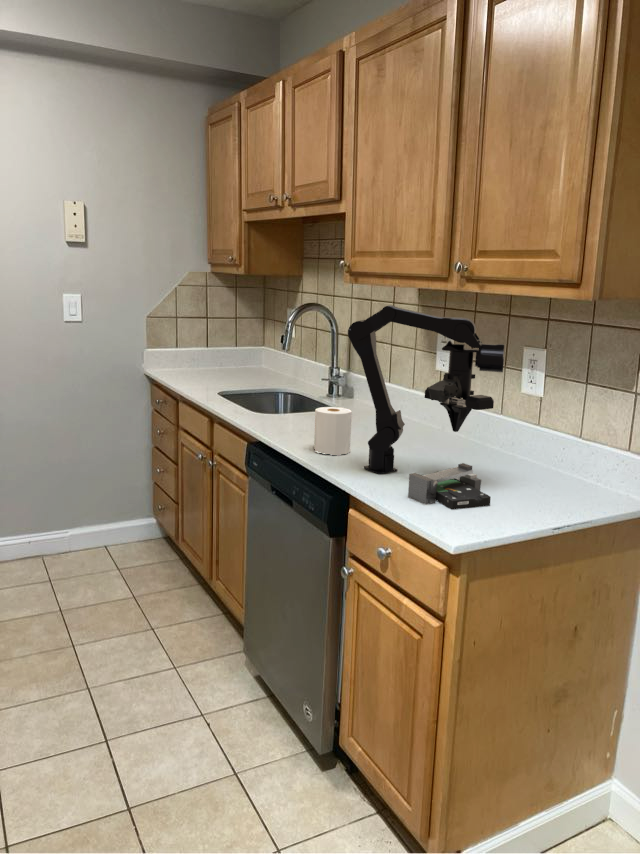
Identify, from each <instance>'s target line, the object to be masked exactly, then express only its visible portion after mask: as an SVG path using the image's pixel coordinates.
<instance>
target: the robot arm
mask: <svg viewBox="0 0 640 854" xmlns="http://www.w3.org/2000/svg"><path fill="white" fill-rule="evenodd" d="M390 323H395V324H400V325H404V326H408V327H412V328H417V329H421V330H426V331H430V332H434V333H436V334H439V335H442V336H443V337H445V338H447V339H450V340H448V341H447V343H446V344H445V345H444V346H443V347H442V348H441V350H442V351H443V352H444V351H447V352H449V359H448V372H444V375H443V378H442V380H439V381H438V382H435V383H434V384H431V385H430V386H427V387H426V389H425V390H424V398H425V399H427V400H431V401H437V402H438V403H439V404H440V406H442V407H443V408H444V409H445V410H446V412H447V414H448V417H449V418H448V419H449V421H450V425H451V430H452V431H453V432H455V433H457V432H458V433H459V431H460V429H461V428H462V426H463V424H464V422H465V420H466V419H467V418H468V416H469V414H470V412H471V411H472V410H475V411H482V410H490V409H491V410H492V409H494V403H495V401H494V399H493V397H492V396H488V395H484V394H475V390H471V389H472V379H473V380H474V379H476V374H475V373H473V365H474V364H475V365H474V367H477V368H479V372H493V373H504V364H505V363H504V362H505V355H504V354H505V344H504V343H495V344H493V343H483V342H482V341H481V338H480V337H479V336H478V334H477V333H476V331H477V327H476V324H475V322H474V321H473V319H471V318H468V317H461V316H460V317H459V316H458V317H454V316H438V315H433V314H428V313H425V312H421V311H420V312H419V311H414V310H410V309H406V308H402V307H398V306H396V305H391V304H389V305H386V306H384V307H382V309H379V311H377V312H375V313H374V314H372V315H371V316H369V317H367V318H366V319H361V320H357V321H354V322H352V323H351V324H350V325H349V328H348V329H347V336H348V338H349V341H350V343H351V345H352V348H353V349H354V351H355V352H356V354H357V355H358V357H359V359H360V361H361V364H362V369H363V371H364V375H365V379H366V382H367V384H368V388H369V392H370V395H371V398H372V399H371V400H372V402H373V406H374V410H375V428H376V433H375V434H373V435H372V437H371V438H370V439H369V440H368V441H367V444H368V448H369V449H368V465H364V466H363V469H365V470H368V471H369V472H372V473H375V474H377V475H381V474H387V473H393V472H398V468H395V467H394V466H395V454H394V453H395V448H394V447H393V445H394V444H395V443H396V442H397V441H398V440H399V439H400V438H401V436H402V434H403V432H404V426H405V422H404V421H403V418H402V411H401V409H400V410H396V411H395V409H394V407H393V406H392V404H391V399H390V397H389V393H388V390H387V386H386V382H385V379H384V375H383V371H382V368H381V365H380V362H379V359H378V358H379V357H378V355H377V336H376V332H378V331H380V330H381V329H383V328H385V326H387V325H389V324H390ZM451 340H453V341H454V342H457V343H453V342H452V341H451ZM458 343H460V344H458ZM463 343H464V344H463ZM465 344H466V345H467V346H469V347H470V348H466V345H465ZM474 353H475V360H474ZM474 361H475V363H474ZM473 363H474V364H473Z"/></svg>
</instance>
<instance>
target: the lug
mask: <svg viewBox="0 0 640 854" xmlns="http://www.w3.org/2000/svg"><path fill="white" fill-rule="evenodd" d="M477 476H478V475H477V474H476V473H474V472H473V473H472V474H468V475H465V476H461V477H459V481H462V482H463V483H465V484H467V485H469V486H471V487H473V488H475V489H477V490H479V491H481V486H482V485H481V484H482V479H481V478H477Z"/></svg>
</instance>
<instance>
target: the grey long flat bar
mask: <svg viewBox="0 0 640 854" xmlns="http://www.w3.org/2000/svg"><path fill="white" fill-rule="evenodd" d="M472 473H473V474H474V470H473V465H470V464H467V463H464V462H461V463H459V464H458V465H457V466H456V467H452V468H448V469H443V470H440V471H436V472H432V473H428V474H424V475H422V476H425V477H428V478H430V479H433V480H437V482H442V481H446V480H450V479H458V478H460V477H461V476H465V475H468V474H472Z"/></svg>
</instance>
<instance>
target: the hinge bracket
mask: <svg viewBox="0 0 640 854" xmlns="http://www.w3.org/2000/svg"><path fill="white" fill-rule="evenodd" d="M437 485H438V482H437V480H433V479H430V478H428V477H425V476H423V475H422V474H420V473H416V472H414V473H409V476H408V492H407V497H408V498H410V499H412V500H414V501H417V502H419V503H422V504H424V505H433V504H436V489H437Z"/></svg>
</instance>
